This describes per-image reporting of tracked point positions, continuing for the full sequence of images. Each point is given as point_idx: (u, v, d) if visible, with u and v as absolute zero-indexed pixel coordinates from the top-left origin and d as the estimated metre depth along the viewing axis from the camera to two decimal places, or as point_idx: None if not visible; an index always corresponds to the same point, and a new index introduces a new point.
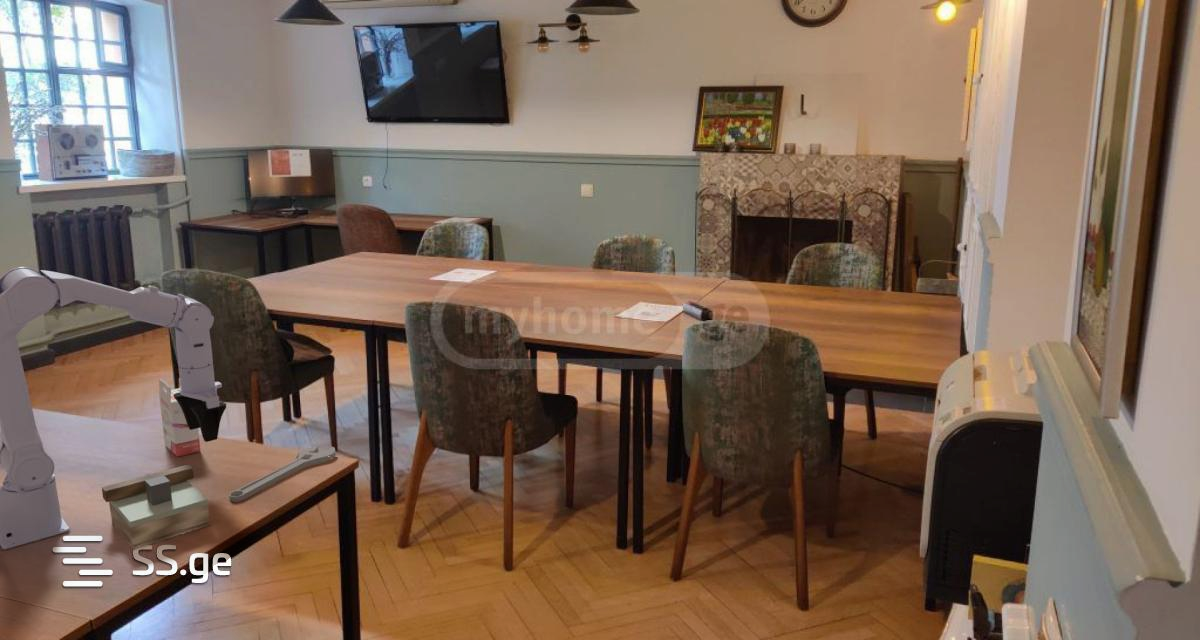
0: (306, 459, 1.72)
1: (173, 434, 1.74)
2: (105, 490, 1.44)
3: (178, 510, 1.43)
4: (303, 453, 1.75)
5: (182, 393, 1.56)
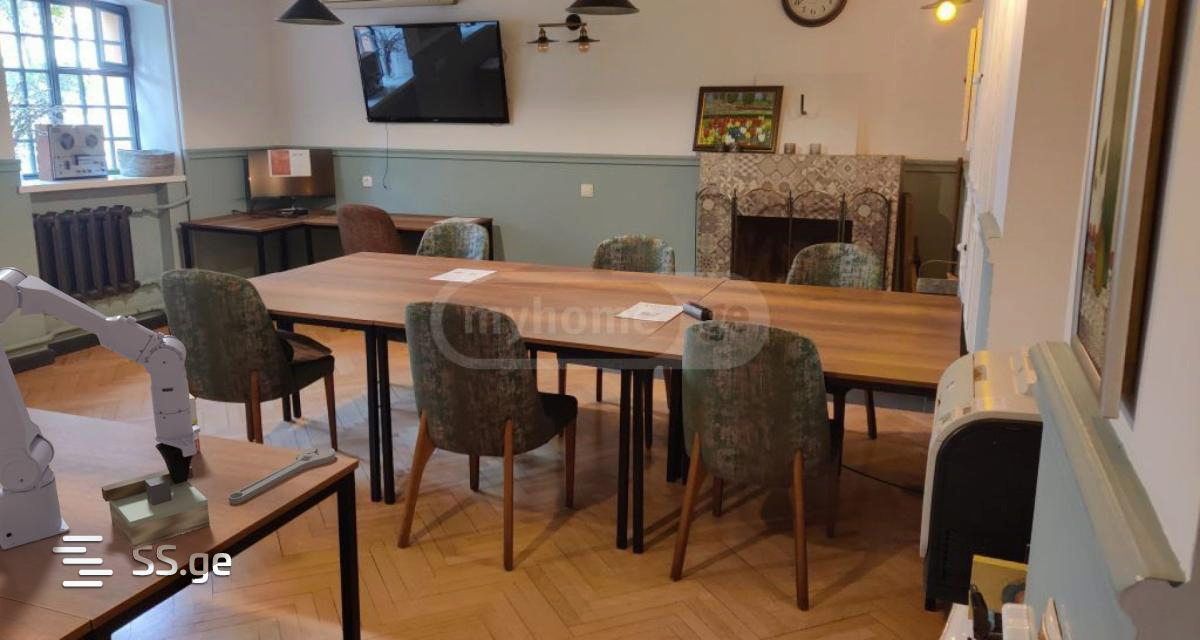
0: (306, 460, 1.72)
1: None
2: (105, 490, 1.44)
3: (178, 510, 1.43)
4: (303, 454, 1.74)
5: (157, 439, 1.46)
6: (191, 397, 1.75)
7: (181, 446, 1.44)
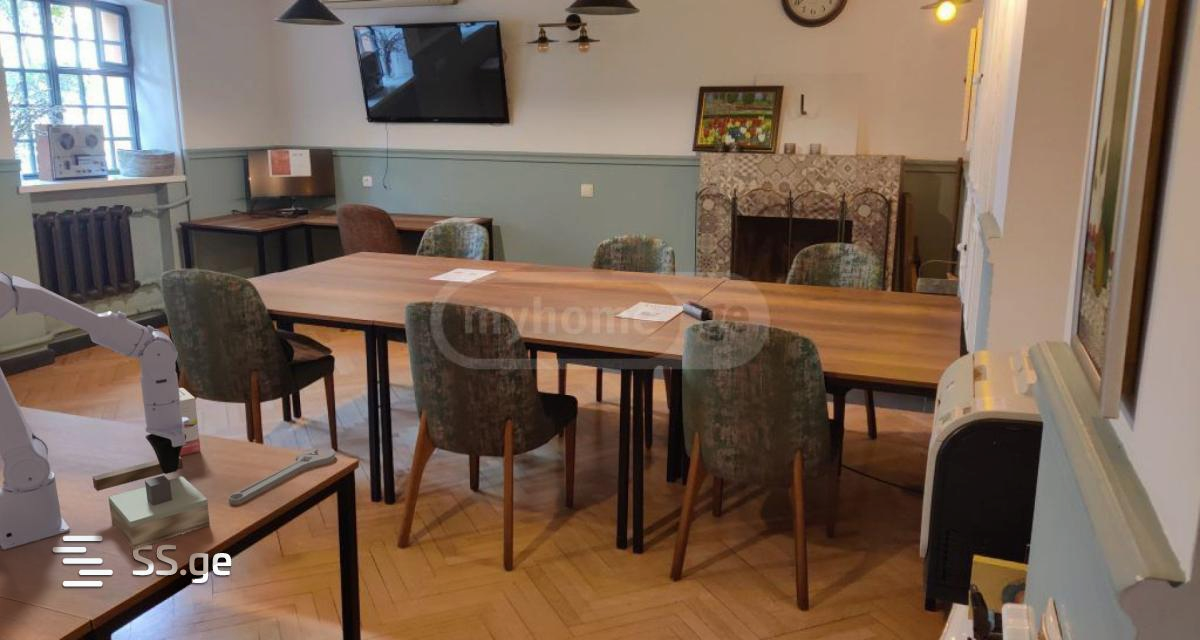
0: (306, 461, 1.71)
1: None
2: (96, 479, 1.48)
3: (178, 510, 1.43)
4: (302, 455, 1.74)
5: (147, 430, 1.50)
6: (191, 397, 1.75)
7: (170, 436, 1.47)
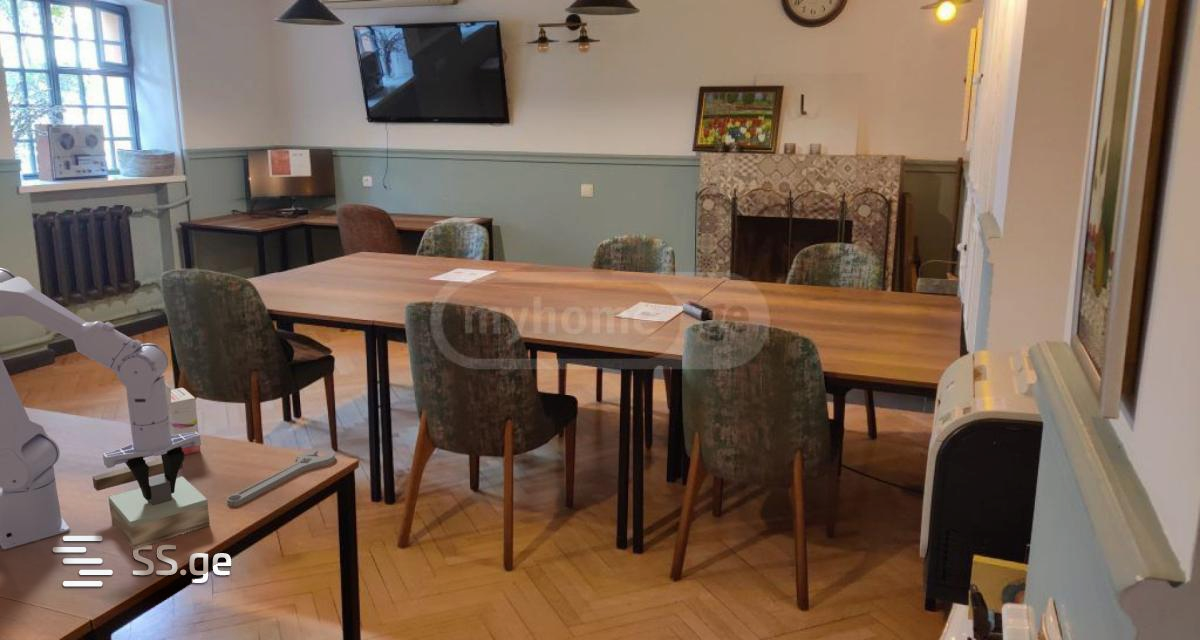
0: (305, 463, 1.71)
1: (173, 434, 1.74)
2: (96, 479, 1.48)
3: (178, 510, 1.43)
4: (302, 457, 1.73)
5: None
6: (191, 397, 1.75)
7: (108, 453, 1.40)
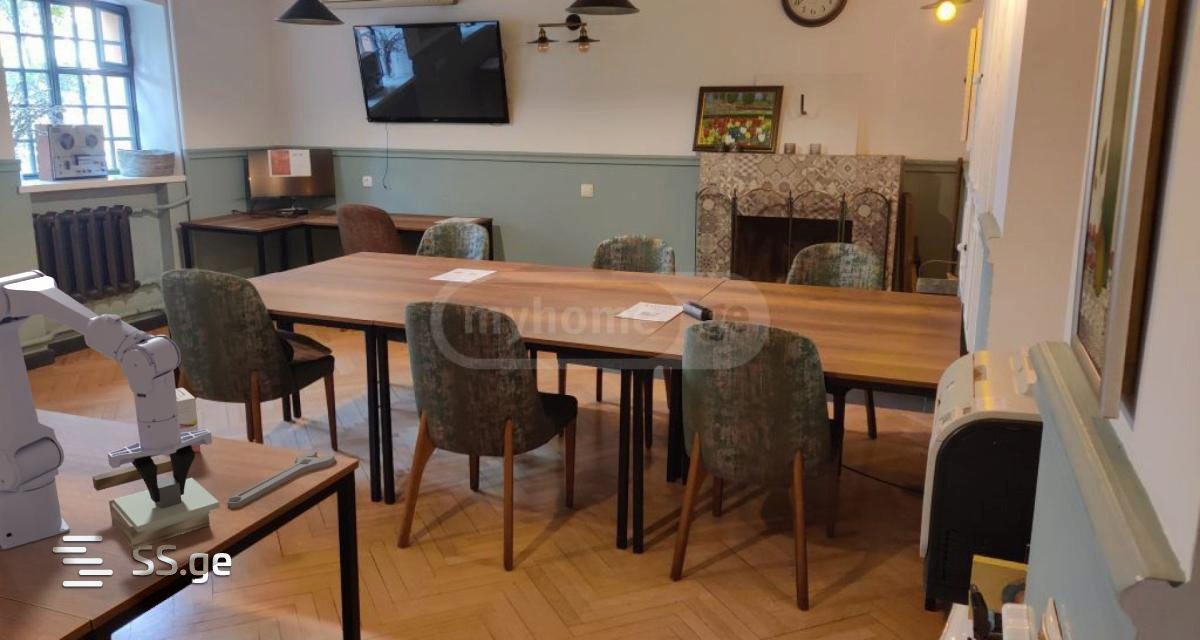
0: (305, 464, 1.70)
1: None
2: (96, 479, 1.48)
3: (188, 514, 1.34)
4: (302, 458, 1.73)
5: None
6: (191, 397, 1.75)
7: (113, 452, 1.31)
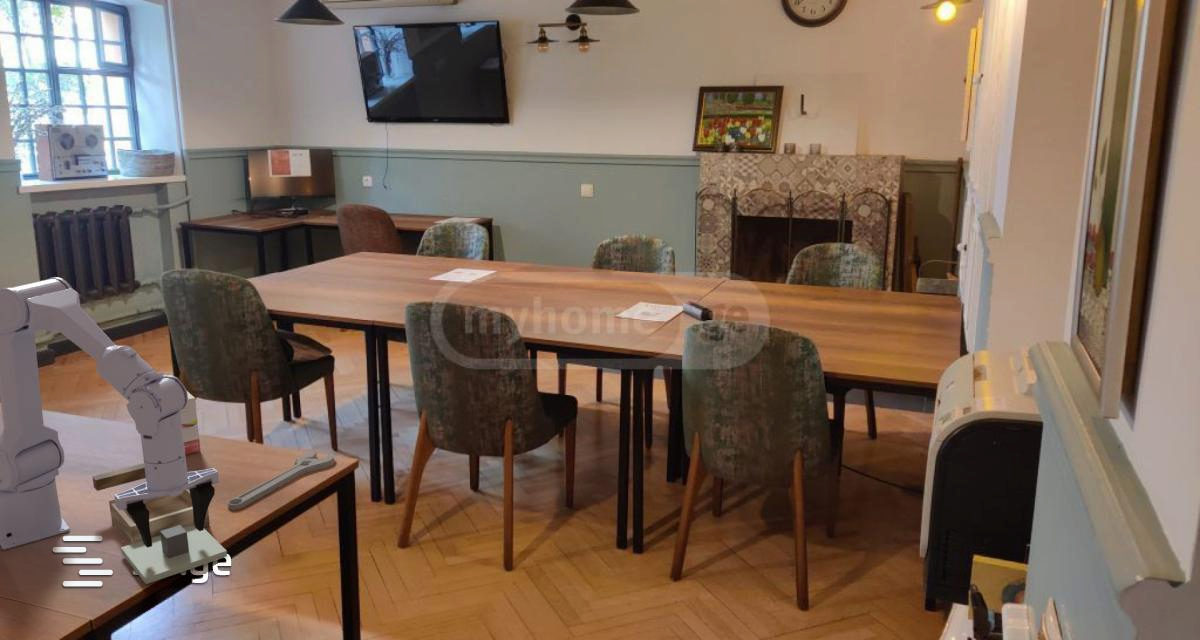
0: (305, 465, 1.69)
1: None
2: (96, 479, 1.48)
3: (196, 563, 1.34)
4: (301, 459, 1.72)
5: None
6: (191, 397, 1.75)
7: None
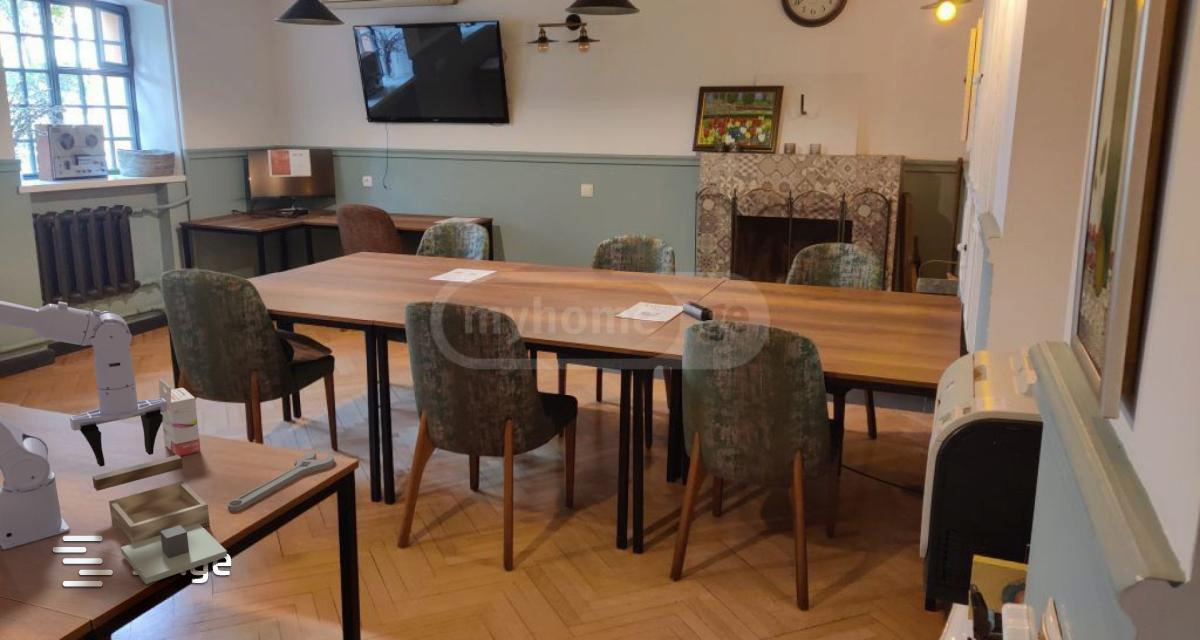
0: (305, 466, 1.69)
1: (173, 434, 1.74)
2: (96, 479, 1.48)
3: (196, 563, 1.34)
4: (301, 460, 1.71)
5: None
6: (191, 397, 1.75)
7: (75, 416, 1.44)
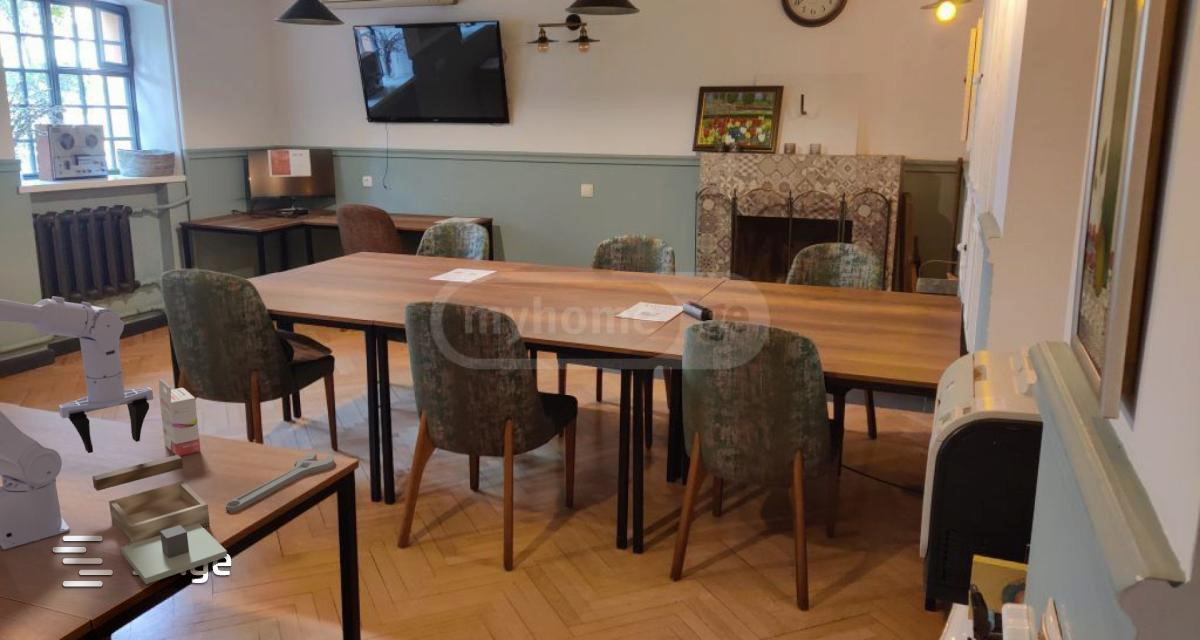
0: (304, 467, 1.69)
1: (173, 434, 1.74)
2: (96, 479, 1.48)
3: (196, 563, 1.34)
4: (301, 461, 1.71)
5: None
6: (191, 397, 1.75)
7: (64, 405, 1.49)
